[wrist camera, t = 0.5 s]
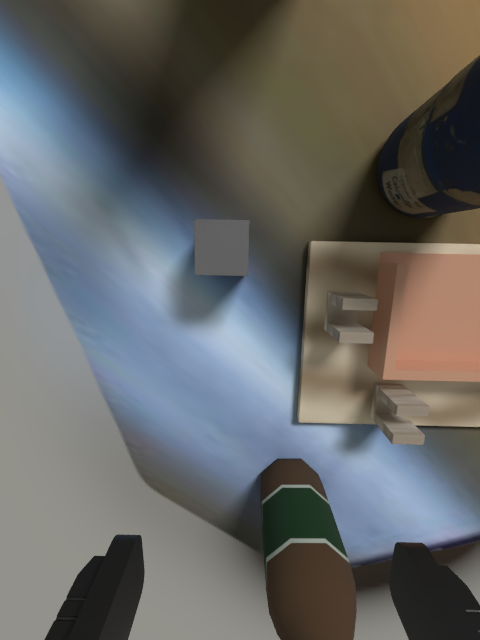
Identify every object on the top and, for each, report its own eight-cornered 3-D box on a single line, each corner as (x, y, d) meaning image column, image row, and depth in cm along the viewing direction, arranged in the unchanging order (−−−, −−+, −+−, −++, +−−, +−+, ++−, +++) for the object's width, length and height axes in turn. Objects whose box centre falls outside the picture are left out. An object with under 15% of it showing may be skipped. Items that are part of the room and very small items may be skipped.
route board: (308, 241, 30) (324, 238, 24) (532, 245, 30) (605, 243, 24) (296, 416, 34) (308, 450, 28) (493, 421, 34) (546, 457, 28)
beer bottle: (247, 467, 36) (254, 858, 13) (307, 445, 35) (431, 819, 12) (271, 515, 38) (316, 947, 14) (328, 496, 37) (477, 917, 13)
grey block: (205, 227, 30) (194, 219, 23) (248, 228, 30) (249, 220, 23) (205, 271, 31) (194, 275, 24) (247, 271, 31) (247, 276, 24)
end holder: (380, 252, 29) (399, 252, 26) (532, 255, 29) (571, 255, 26) (367, 365, 32) (382, 379, 28) (506, 369, 32) (539, 383, 28)
